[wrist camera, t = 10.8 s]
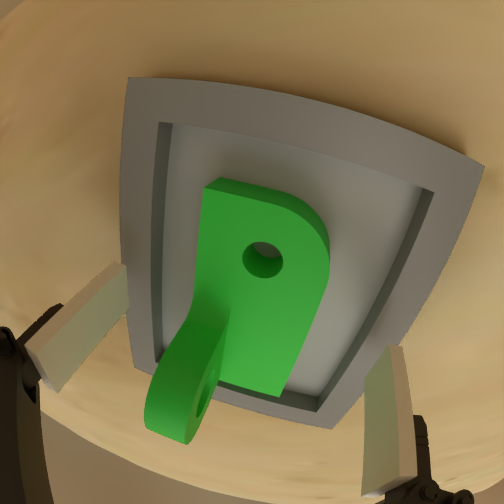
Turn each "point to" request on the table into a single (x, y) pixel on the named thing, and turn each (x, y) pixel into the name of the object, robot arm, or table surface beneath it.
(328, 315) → the locating tray
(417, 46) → the table surface
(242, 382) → the mechanical part
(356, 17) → the table surface
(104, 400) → the table surface
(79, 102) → the table surface
